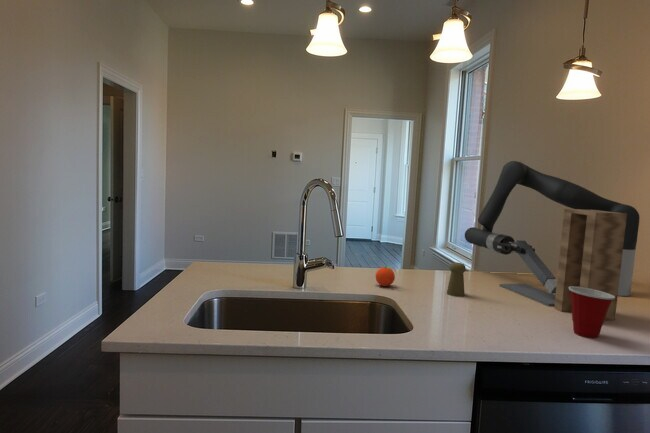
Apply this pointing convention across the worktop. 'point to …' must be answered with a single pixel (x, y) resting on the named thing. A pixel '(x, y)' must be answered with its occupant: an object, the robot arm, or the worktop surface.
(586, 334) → the plastic cup
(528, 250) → the grey bar
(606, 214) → the walnut shelf
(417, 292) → the worktop surface
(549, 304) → the rubber mat
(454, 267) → the cork
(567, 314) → the worktop surface
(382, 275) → the clementine
